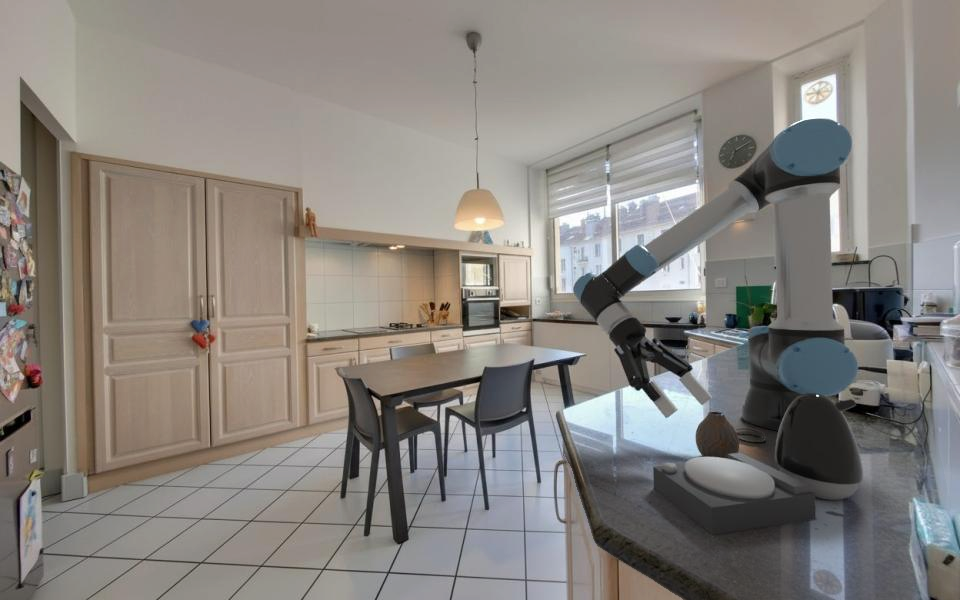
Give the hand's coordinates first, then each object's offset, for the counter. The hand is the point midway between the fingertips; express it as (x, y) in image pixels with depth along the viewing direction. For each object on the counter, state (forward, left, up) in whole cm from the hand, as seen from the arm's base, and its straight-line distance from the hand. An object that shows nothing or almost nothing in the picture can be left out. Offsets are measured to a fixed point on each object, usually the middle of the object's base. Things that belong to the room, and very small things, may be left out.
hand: (690, 407), depth 72 cm
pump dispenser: (-9, +16, -9) cm, 21 cm away
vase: (-3, +3, -9) cm, 10 cm away
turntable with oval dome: (+7, +16, -9) cm, 20 cm away
